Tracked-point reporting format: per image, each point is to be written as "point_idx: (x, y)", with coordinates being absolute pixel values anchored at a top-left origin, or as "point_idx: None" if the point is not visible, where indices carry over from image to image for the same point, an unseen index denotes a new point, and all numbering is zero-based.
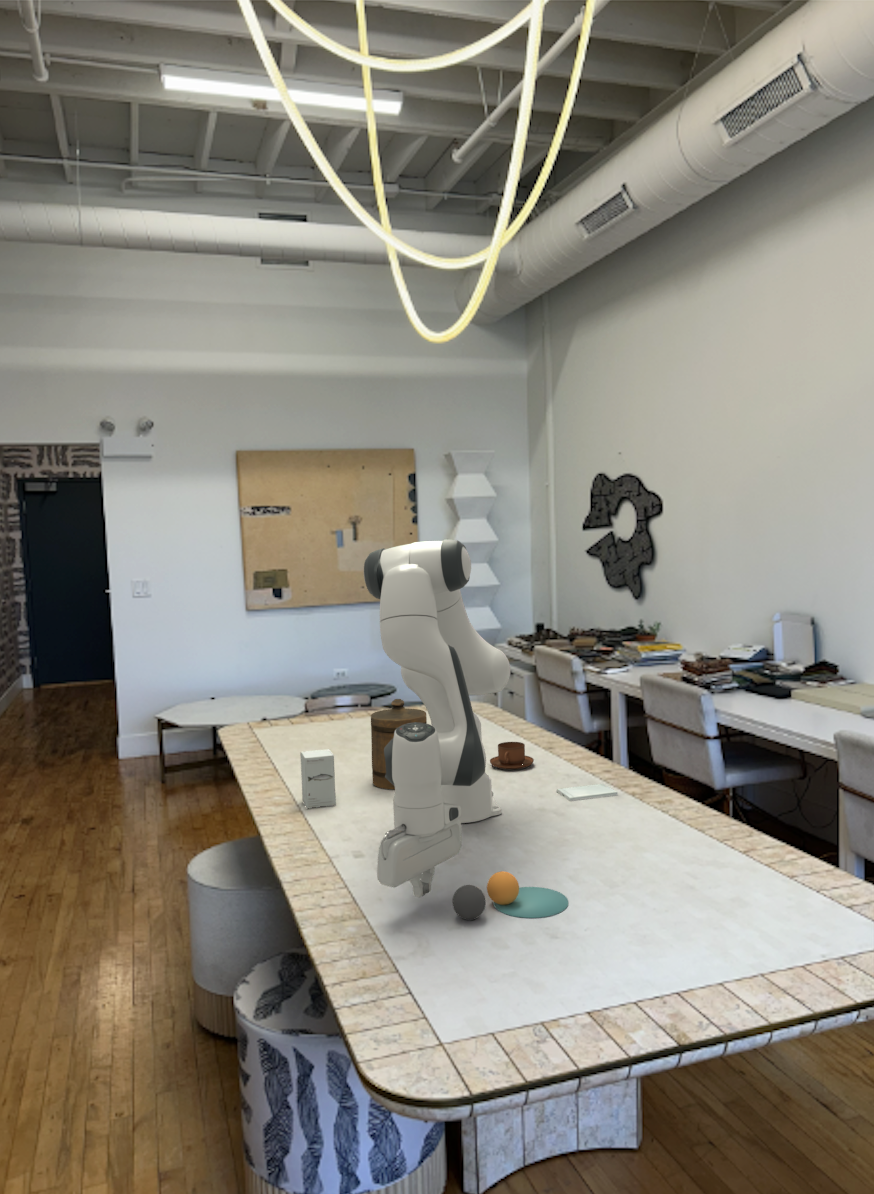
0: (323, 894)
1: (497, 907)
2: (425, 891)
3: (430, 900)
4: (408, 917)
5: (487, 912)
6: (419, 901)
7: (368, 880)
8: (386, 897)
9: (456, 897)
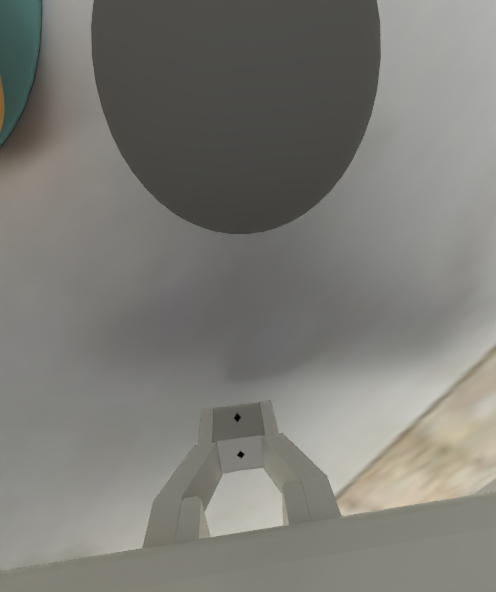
0: None
1: (21, 68)
2: (240, 413)
3: (200, 384)
4: (356, 347)
5: None
6: (231, 402)
7: None
8: None
9: (360, 137)
